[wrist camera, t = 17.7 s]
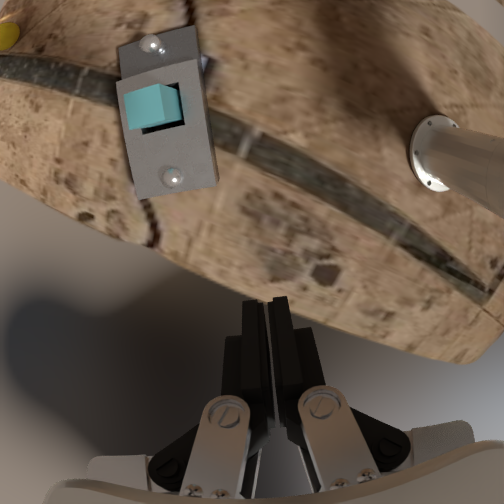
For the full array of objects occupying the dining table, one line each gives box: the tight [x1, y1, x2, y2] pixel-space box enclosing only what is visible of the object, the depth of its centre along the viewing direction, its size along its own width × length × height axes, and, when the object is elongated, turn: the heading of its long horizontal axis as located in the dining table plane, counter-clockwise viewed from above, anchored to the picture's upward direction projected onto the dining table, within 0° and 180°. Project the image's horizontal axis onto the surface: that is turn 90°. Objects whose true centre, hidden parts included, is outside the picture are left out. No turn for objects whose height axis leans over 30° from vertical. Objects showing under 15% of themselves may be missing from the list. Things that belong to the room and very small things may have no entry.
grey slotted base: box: [116, 25, 219, 200], centre depth 30 cm, size 11×22×5 cm, turn 7°
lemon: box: [0, 22, 20, 51], centre depth 18 cm, size 6×6×8 cm
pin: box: [123, 83, 184, 130], centre depth 27 cm, size 4×4×10 cm
